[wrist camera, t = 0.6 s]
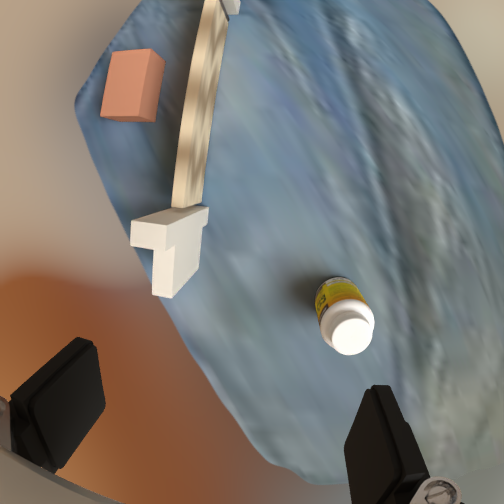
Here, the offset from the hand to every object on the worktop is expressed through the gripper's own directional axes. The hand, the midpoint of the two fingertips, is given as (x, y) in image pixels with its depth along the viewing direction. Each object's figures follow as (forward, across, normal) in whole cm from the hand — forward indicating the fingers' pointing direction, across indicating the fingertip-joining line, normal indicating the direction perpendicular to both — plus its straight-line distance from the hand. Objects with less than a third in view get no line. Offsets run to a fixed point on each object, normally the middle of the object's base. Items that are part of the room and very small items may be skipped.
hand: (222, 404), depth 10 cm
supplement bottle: (+28, -9, +6) cm, 31 cm away
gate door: (+28, +8, -15) cm, 33 cm away
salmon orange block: (+28, +17, -17) cm, 37 cm away
